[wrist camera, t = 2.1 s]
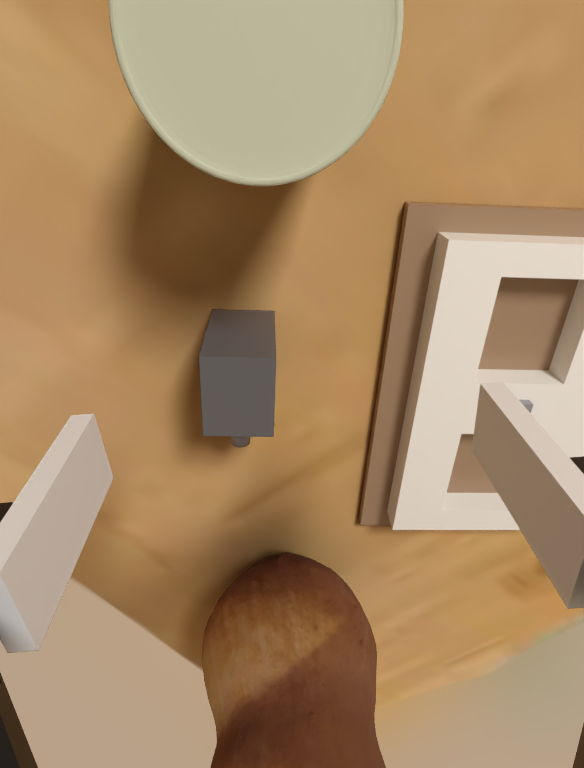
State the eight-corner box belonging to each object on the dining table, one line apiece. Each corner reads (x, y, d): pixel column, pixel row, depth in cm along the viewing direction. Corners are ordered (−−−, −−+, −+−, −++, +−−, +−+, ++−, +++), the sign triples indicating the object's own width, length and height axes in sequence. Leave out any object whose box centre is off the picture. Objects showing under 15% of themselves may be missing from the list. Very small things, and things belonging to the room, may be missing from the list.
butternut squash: (182, 560, 43) (93, 1033, 21) (321, 500, 40) (386, 971, 18) (262, 644, 49) (258, 1078, 27) (387, 598, 46) (494, 1036, 24)
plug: (215, 399, 35) (204, 461, 29) (212, 309, 32) (198, 356, 26) (271, 400, 35) (272, 461, 29) (274, 310, 32) (275, 358, 26)
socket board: (358, 518, 41) (365, 549, 38) (405, 201, 29) (421, 212, 26) (556, 518, 42) (578, 549, 39) (680, 212, 30) (726, 224, 27)
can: (337, -76, 23) (397, -233, 12) (361, 141, 27) (419, 160, 17) (145, -32, 23) (47, -146, 13) (199, 175, 28) (158, 214, 17)
